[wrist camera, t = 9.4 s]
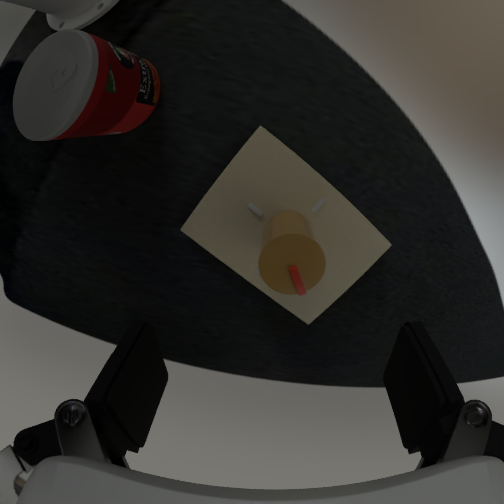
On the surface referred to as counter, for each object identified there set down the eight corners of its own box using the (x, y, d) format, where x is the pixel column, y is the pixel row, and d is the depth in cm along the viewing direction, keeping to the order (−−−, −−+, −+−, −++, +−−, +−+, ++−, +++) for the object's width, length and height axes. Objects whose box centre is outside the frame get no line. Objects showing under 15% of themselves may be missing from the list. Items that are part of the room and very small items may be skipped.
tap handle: (254, 222, 23) (247, 248, 17) (305, 203, 22) (314, 224, 17) (273, 268, 24) (272, 305, 19) (322, 251, 23) (334, 285, 18)
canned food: (178, 100, 21) (111, 79, 11) (113, 150, 23) (31, 167, 13) (142, 43, 19) (72, 6, 9) (83, 94, 21) (3, 90, 11)
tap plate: (186, 223, 26) (179, 230, 24) (261, 126, 22) (260, 125, 20) (306, 313, 28) (308, 326, 26) (384, 237, 24) (392, 245, 22)
